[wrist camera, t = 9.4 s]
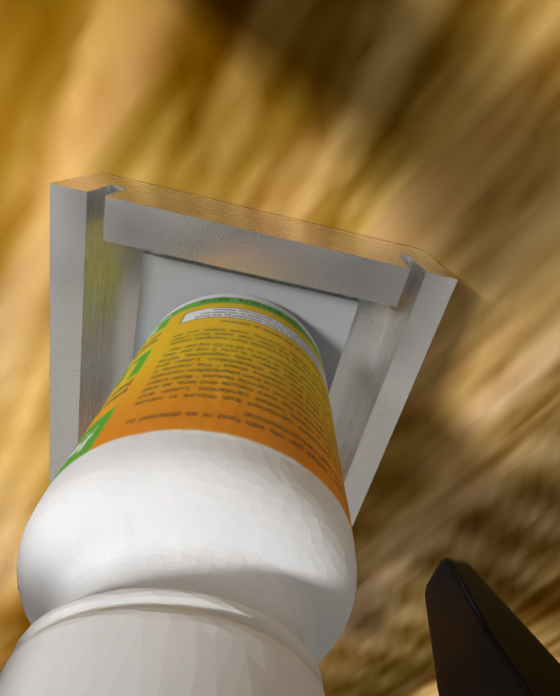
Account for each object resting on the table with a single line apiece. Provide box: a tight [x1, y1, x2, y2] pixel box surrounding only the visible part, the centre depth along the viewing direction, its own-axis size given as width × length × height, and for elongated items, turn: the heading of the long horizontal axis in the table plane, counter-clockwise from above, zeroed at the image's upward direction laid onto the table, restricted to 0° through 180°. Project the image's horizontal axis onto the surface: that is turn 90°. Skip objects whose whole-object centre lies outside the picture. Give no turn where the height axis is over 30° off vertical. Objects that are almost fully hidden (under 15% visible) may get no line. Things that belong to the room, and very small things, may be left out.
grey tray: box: [50, 172, 458, 526], centre depth 12 cm, size 16×10×8 cm, turn 167°
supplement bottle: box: [0, 293, 357, 696], centre depth 9 cm, size 5×5×10 cm
